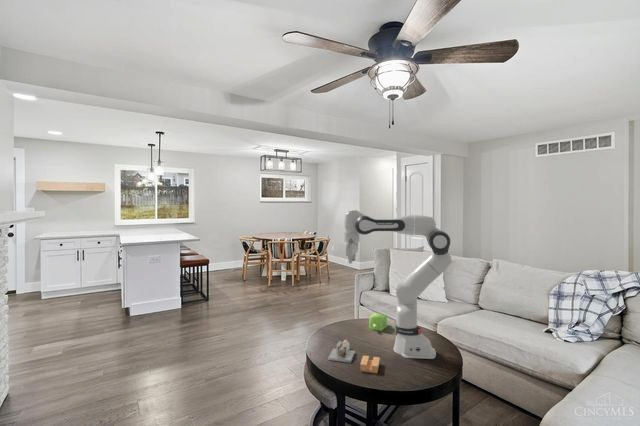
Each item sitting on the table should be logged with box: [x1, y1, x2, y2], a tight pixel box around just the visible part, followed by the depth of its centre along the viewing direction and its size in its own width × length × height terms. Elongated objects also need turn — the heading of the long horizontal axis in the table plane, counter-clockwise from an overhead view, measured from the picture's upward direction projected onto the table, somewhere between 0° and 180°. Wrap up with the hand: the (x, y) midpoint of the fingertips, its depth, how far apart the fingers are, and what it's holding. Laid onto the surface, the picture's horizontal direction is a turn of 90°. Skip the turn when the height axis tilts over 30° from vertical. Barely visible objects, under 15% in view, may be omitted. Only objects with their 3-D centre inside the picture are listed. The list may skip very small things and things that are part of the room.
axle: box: [338, 339, 350, 356], centre depth 177 cm, size 14×3×3 cm, turn 164°
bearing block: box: [327, 340, 356, 364], centre depth 172 cm, size 12×12×6 cm
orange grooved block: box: [359, 354, 381, 374], centre depth 160 cm, size 8×10×4 cm
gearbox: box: [368, 312, 388, 332], centre depth 213 cm, size 18×10×10 cm, turn 149°
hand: (351, 262), depth 188 cm, fingers open, 8 cm apart
